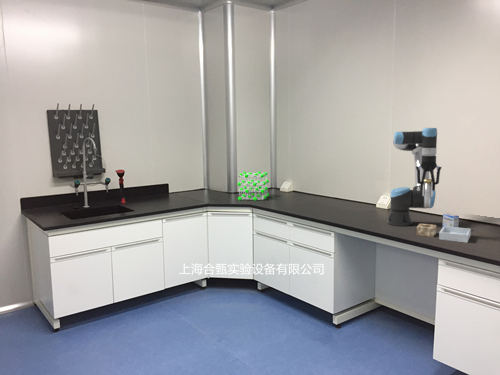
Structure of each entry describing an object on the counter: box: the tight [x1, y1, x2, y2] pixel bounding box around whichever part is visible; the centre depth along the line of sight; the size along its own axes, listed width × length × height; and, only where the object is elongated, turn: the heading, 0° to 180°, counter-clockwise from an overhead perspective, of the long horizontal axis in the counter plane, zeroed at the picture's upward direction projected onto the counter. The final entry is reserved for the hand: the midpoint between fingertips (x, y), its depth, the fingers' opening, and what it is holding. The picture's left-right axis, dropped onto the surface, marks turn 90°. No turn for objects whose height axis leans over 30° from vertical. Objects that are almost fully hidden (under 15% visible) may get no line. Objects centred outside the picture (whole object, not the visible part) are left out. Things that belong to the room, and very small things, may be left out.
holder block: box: [416, 223, 437, 238], centre depth 234 cm, size 9×9×5 cm
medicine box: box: [442, 213, 460, 228], centre depth 245 cm, size 8×4×9 cm, turn 24°
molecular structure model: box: [237, 171, 270, 201], centre depth 371 cm, size 24×25×24 cm
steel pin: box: [423, 178, 432, 209], centre depth 231 cm, size 5×5×16 cm
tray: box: [438, 226, 472, 243], centre depth 226 cm, size 14×16×4 cm
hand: (427, 195), depth 231 cm, fingers closed on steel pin, 3 cm apart
